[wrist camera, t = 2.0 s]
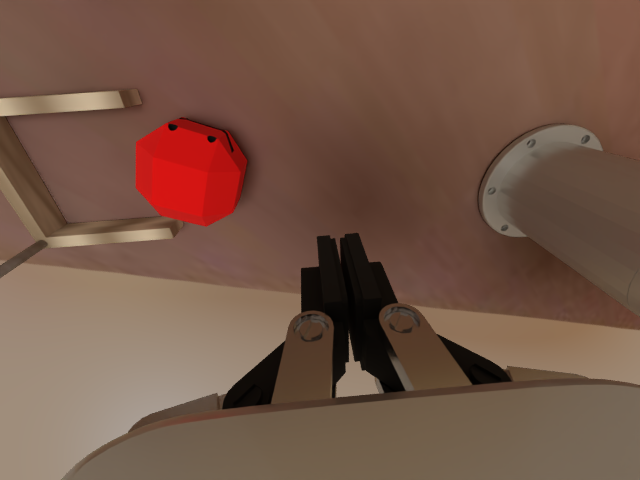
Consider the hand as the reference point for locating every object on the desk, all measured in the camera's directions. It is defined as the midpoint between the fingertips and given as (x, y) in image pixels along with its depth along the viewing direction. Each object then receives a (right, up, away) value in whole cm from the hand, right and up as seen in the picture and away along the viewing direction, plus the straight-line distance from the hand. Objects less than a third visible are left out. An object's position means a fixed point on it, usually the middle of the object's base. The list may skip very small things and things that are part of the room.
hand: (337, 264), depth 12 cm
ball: (-12, +9, +16) cm, 22 cm away
